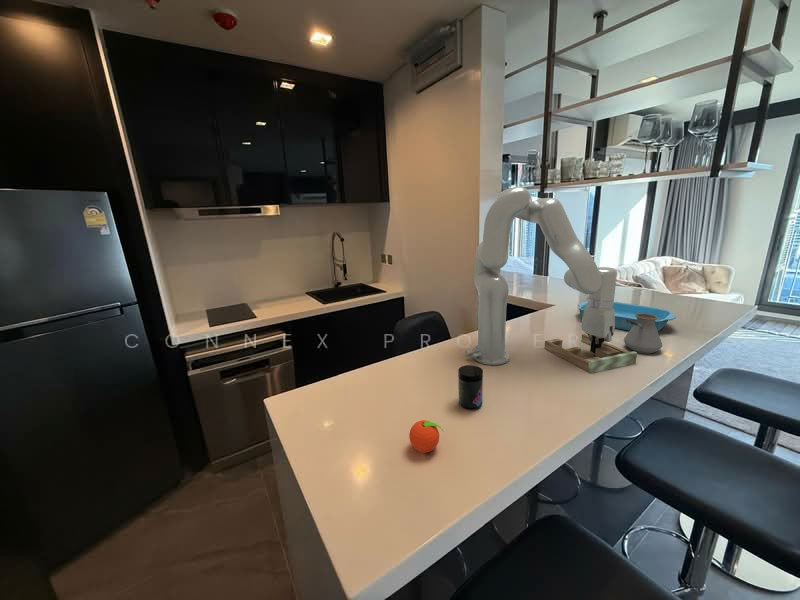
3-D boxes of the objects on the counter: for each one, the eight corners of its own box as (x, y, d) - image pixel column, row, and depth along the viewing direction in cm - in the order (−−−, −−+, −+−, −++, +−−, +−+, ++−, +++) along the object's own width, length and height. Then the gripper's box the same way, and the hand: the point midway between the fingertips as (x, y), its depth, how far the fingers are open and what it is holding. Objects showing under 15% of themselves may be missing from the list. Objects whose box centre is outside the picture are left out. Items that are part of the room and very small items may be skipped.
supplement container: (470, 413, 89) (470, 378, 86) (453, 402, 94) (452, 369, 92) (487, 405, 92) (488, 371, 90) (470, 395, 98) (470, 362, 95)
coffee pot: (631, 341, 129) (636, 304, 125) (667, 350, 120) (673, 310, 116) (602, 355, 118) (607, 315, 115) (639, 366, 109) (645, 324, 105)
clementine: (442, 438, 80) (442, 412, 78) (445, 459, 73) (445, 431, 71) (410, 439, 80) (408, 413, 79) (409, 459, 74) (408, 432, 72)
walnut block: (606, 364, 112) (608, 353, 111) (594, 358, 116) (595, 348, 115) (618, 362, 113) (619, 351, 112) (605, 356, 118) (607, 346, 117)
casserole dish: (568, 321, 156) (569, 306, 154) (587, 310, 169) (588, 297, 168) (665, 341, 128) (668, 323, 126) (679, 326, 142) (681, 310, 140)
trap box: (590, 373, 107) (592, 362, 106) (544, 348, 127) (545, 338, 126) (635, 363, 111) (637, 352, 110) (583, 340, 132) (584, 331, 131)
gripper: (574, 299, 120) (570, 346, 125) (610, 310, 106) (604, 362, 111) (591, 297, 122) (586, 343, 127) (629, 307, 108) (622, 358, 113)
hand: (595, 352), depth 119 cm, fingers closed
